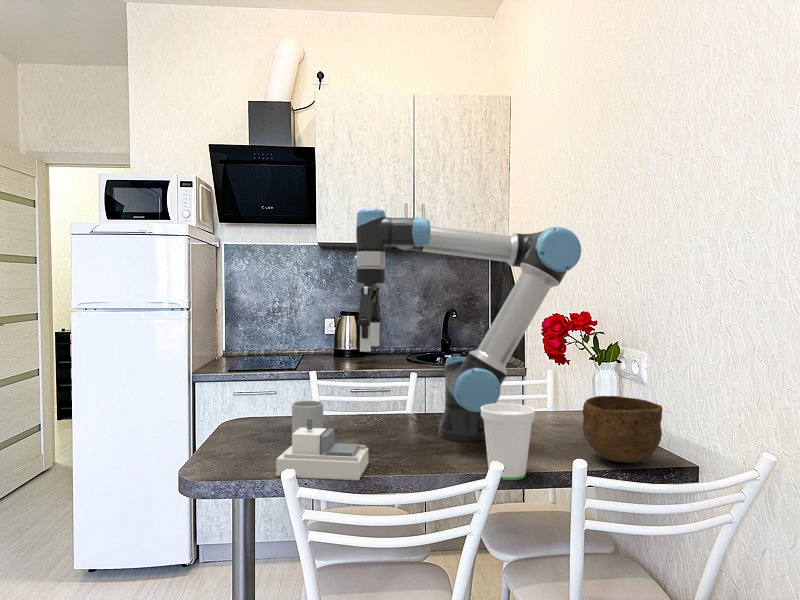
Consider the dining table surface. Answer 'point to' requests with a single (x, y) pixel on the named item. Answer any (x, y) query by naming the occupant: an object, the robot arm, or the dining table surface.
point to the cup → (508, 436)
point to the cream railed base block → (324, 465)
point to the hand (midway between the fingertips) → (370, 348)
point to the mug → (307, 414)
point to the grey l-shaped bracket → (336, 446)
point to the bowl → (622, 427)
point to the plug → (307, 440)
